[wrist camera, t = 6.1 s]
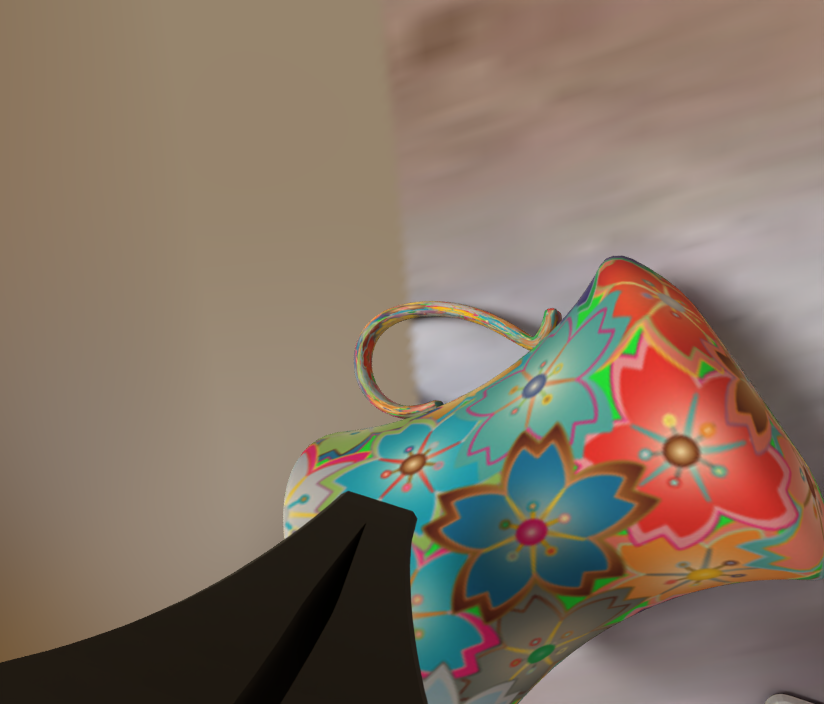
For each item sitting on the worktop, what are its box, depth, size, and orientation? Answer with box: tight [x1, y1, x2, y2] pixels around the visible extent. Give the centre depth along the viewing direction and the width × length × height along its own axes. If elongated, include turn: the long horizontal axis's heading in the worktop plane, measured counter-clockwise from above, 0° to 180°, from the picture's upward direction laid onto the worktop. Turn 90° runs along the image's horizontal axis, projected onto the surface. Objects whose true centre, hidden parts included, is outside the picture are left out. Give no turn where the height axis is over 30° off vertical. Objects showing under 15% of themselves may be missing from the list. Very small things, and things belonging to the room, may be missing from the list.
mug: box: [283, 256, 824, 704], centre depth 19 cm, size 12×9×11 cm
